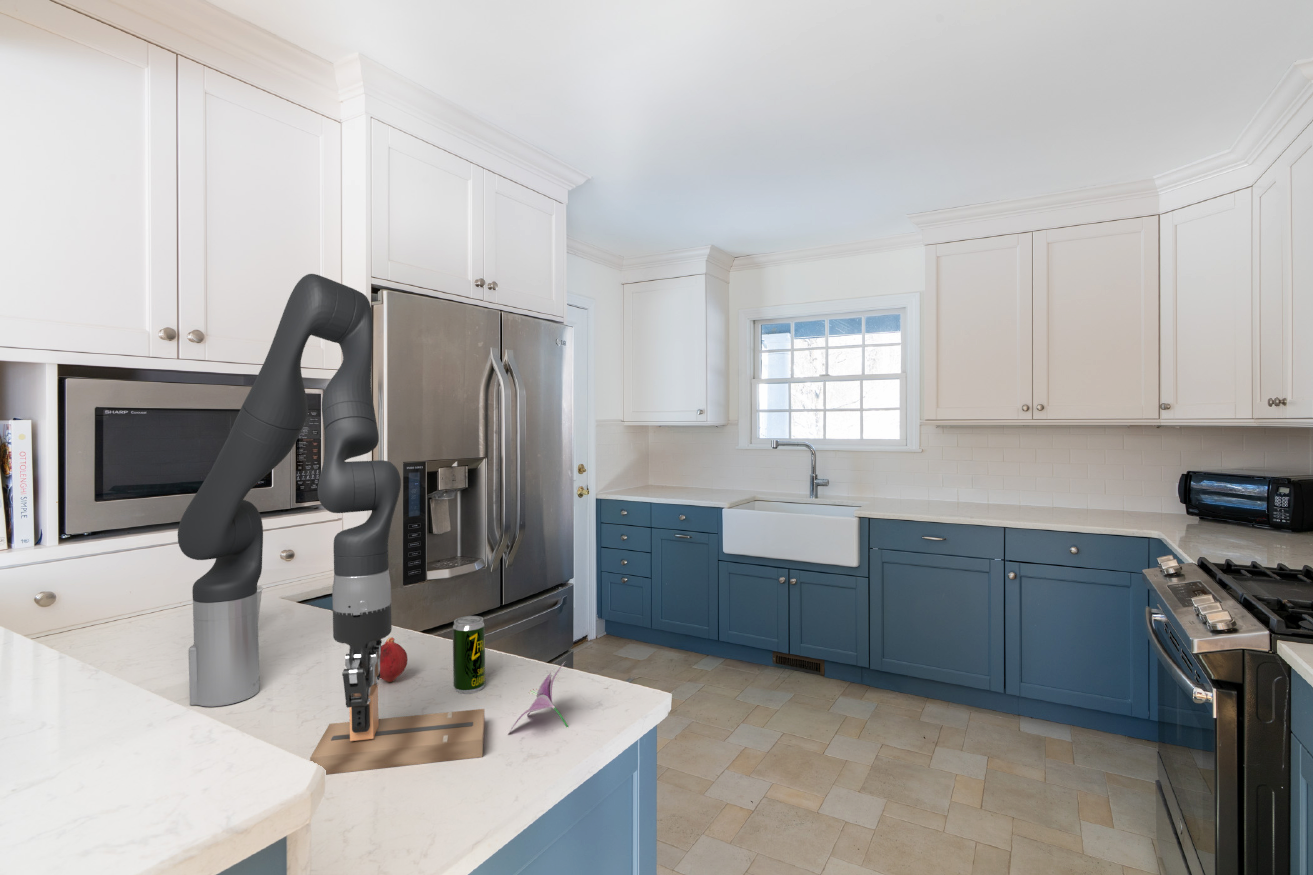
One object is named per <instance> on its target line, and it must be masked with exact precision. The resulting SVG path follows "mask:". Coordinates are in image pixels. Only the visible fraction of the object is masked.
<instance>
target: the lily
mask: <svg viewBox="0 0 1313 875" xmlns="http://www.w3.org/2000/svg"><path fill="white" fill-rule="evenodd" d="M565 662H566V661H563V663H562V664H561V665H560V667H559V668H558V669H557V670H556V671H555V673H554V675H552V671H550V672H548V675H547V676H546V677H545V679H544V680H543V681H542V682H541V684H540V686H539V688H538V689H537V688H535V689H534V688H532V689H530V691H529V692H530V694H532V695H534V696H536V698H535V700H534V701H533V702H532V703H531V706H530V707H529V708H528V709H527V710H525V711H523V712H522V714H521V715H520V716H519V717H518V718H516V721H515V722H514V724H513V725H512V726H511V729H510V730H509V732H508V734H507V735H509V734H510V732H511V731H512V730H513V728H514V727H515V726H516V724H517V723H518V722H519V720H520V719H522V717H523V716H525V715H526V717H528V716H529V715H531V713H532V712H536V711H540V710H545V709H549V708H552V709H553V710H554V711H555V712H556V714H557V715H558V716H559V718H560V719H561V721H562V722H563V724H564V725H565V727H566V728H567V727H568V728H569V725H568V723H567V721H566V720H565V718H564V717H563V715H562V714H561V712H560V711H559V710H558V708H556V706H555V704H554V703H553V685H554V681H555V678H556V676H557V675H558V673H559V671H560V670H561V669H562V667H563V666H564V664H565ZM535 690H536V691H535Z"/></svg>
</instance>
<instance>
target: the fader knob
mask: <svg viewBox="0 0 1313 875" xmlns="http://www.w3.org/2000/svg"><path fill="white" fill-rule="evenodd" d="M358 696H361V694H360V693H357V694H355V697H358ZM370 698H371V702H370V728H369V730H368V731H367V732H359V733H354V732H353V731H352V707H349V709H348V710H349V712H348V713H349V722H350V741H356V740H365V739H373V738H374V736H375V733H376V731H377V728H378V726H379V719H380V718H379V684H378V685H373V686H371V688H370Z"/></svg>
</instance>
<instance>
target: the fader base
mask: <svg viewBox="0 0 1313 875" xmlns="http://www.w3.org/2000/svg"><path fill="white" fill-rule="evenodd" d="M485 715H486V714H485V708H478V709H469V710H459V711H458V710H456V711H449V712H448V711H447V712H438V713H437V712H436V713H427V714H416V715H407V716H395V717H385V718H379V726H378V728H377V731H376V733H375V736H374V738H373V739H365V740H356V741H350V721H343V722H336V723H335V722H333V723H332V722H331V723H329V724H328V725H327V728H326V729H325V731H324V733H323V734H322V736H321V737H320V739H319V741H318V743H317V745H316V746H315V749H314V750H313V752H312V753H311V756H310V757H309V762H310V761H313V762H314V763H317V764H318V765H320V766H322V767H323V768H324V769H325V770H326V775H332V774H333V775H334V774H341V773H342V774H343V773H350V772H359V771H360V772H361V771H369V770H378V769H386V768H387V769H388V768H396V767H397V768H398V767H403V766H404V767H405V766H415V765H420V764H421V765H422V764H431V763H441V762H450V761H458V760H468V759H477V758H483V753H484V739H485V726H486V725H485V722H486V721H485V720H486V718H485Z"/></svg>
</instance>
